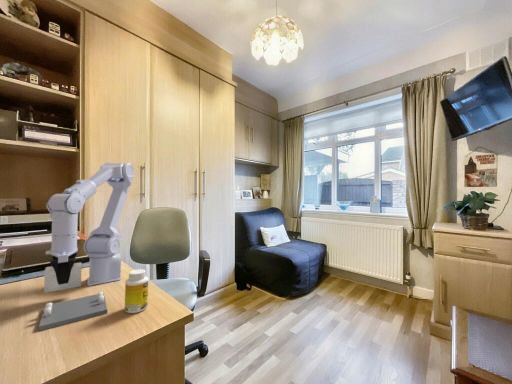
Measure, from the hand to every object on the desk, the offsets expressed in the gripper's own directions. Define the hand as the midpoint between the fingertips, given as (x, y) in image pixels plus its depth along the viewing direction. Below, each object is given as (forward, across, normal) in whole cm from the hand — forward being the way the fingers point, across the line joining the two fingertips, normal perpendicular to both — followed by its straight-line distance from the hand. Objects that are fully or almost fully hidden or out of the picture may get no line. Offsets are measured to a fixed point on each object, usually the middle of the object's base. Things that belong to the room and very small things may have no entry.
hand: (63, 280), depth 66 cm
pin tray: (+5, +10, +3) cm, 12 cm away
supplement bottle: (+6, +18, +16) cm, 25 cm away
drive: (+2, 0, 0) cm, 2 cm away
